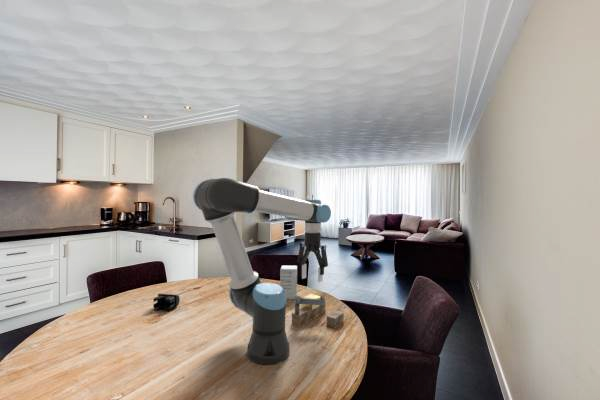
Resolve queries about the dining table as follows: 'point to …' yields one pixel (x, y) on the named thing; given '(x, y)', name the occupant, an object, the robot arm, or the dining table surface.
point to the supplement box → (289, 280)
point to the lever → (309, 300)
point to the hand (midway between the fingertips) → (311, 279)
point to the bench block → (335, 318)
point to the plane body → (305, 314)
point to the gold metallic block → (310, 305)
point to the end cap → (166, 302)
